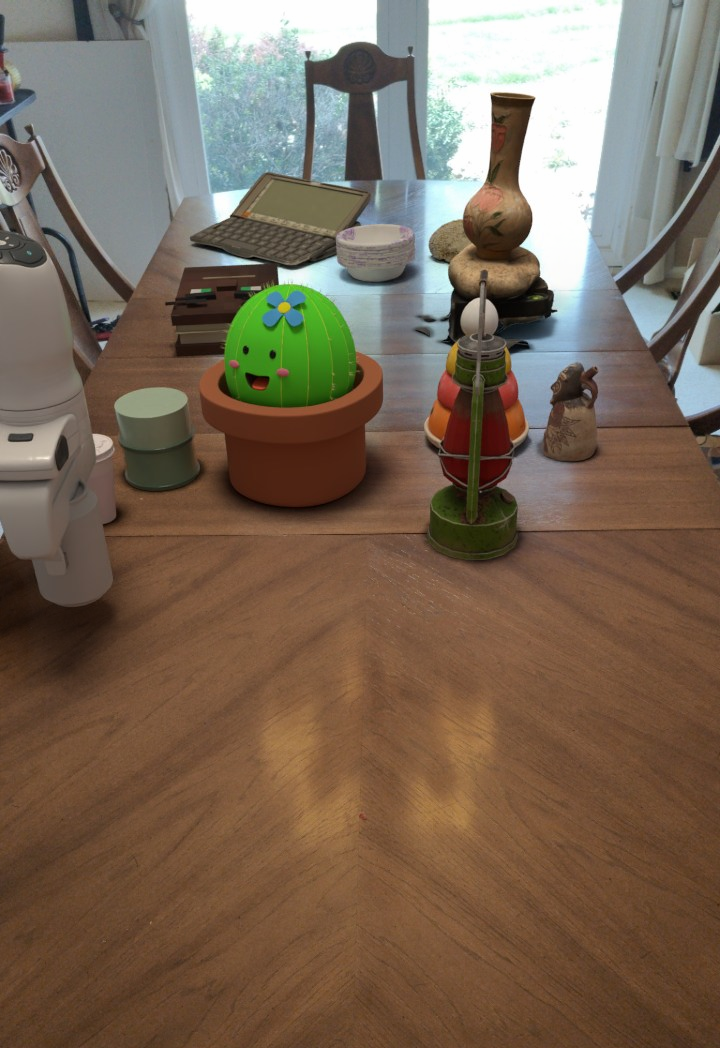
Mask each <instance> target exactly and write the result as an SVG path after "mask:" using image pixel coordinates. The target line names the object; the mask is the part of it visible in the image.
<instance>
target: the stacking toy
mask: <svg viewBox="0 0 720 1048" xmlns="http://www.w3.org/2000/svg"><path fill="white" fill-rule="evenodd" d="M479 306H480V298H476V299H474V300H472V301H471V302H469V304H468V305H467V306H466V307H465V309H464V310H463V313H462V316H461V328H462V330H463V332H464V333H465V335H466V336H468V335H472V334H476V333H478V326H479ZM498 327H499V324H498V314H497V311H496V308H495V307H494V305H493V304H492V303H491V302H490V301H489V300H487V299H486V309H485V330H484V332H485V333H488V334H491V335H492V334H493V335H494V334H495V333H496V332H497V329H498ZM457 342H458V341H457ZM457 342H454V344H453V345H452V346H451V348H450V350H449V351H448V353H447V356H446V361H445V369H444V371H443V373H442V375H441V376H440V379H439V382H438V384H437V389H436V399H435V401H434V402H433V404H432V407H431V409H430V412H429V413H430V414H429V415H428V417H427V418H426V419H425V421H424V424H423V430H424V434H425V436H426V438H427V439H428V441H429V442H430V443H431V444H432V445H433V446H435V447H436V448H438V449H440V446H439V443H440V442H441V441H442V439H443V438H444V436H445V432H446V428H447V423H448V420H449V417H450V414H451V411H452V408H453V405H454V402H455V399H456V397H457V395H458V392H459V390H460V388H461V387H459V386H458V385H456V384H455V383H453V380H452V375H453V374H454V372H455V361H456V359H457V350H458V347H457ZM504 350H505V352H506V357H505V361H506V372H505V373H506V374H507V376H508V381H507V383H506V384H505V385H503V386H501V387H499V388H498V389H499V392H500V395H501V398H502V401H503V405H504V409H505V414H506V418H507V422H508V429H509V436H510V439H511V440H512V442H513V444H514V446H515V448H517V447H519V446H520V445H521V444H522V443H523V442H525V440H526V439H527V436H528V435H529V432H530V424H529V422H528V420H527V418H526V417H525V411H524V408H523V405H522V402H521V401H520V399H519V384H518V380H517V377H516V376H515V373H514V372H513V370H512V358H511V353H510V351H509V349H507V347H505V349H504ZM442 446H443V445H442Z"/></svg>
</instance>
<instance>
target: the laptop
mask: <svg viewBox="0 0 720 1048" xmlns="http://www.w3.org/2000/svg"><path fill="white" fill-rule="evenodd" d="M371 200H372V194H371V191H370V190H366V189H359V188H355V187H349V186H343V185H338V184H334V183H333V184H332V183H327V182H321V181H315V180H310V179H306V178H305V179H304V178H300V177H296V176H290V175H286V174H281V173H276V172H271V171H265V172H264V173H262V174H261V175H260V176H259V177H258V178H257V180H256V181H255V182H254V183H253V184H252V185H251V187H250V188H249V190H248V191H247V192H246V193H245V194H244V195H243V197H242V198H241V199H240V201H239V203H238V204H237V206H236V208H234V210H233V211H232V213H230V215H229V217H228V218H226V219H224V220H222V221H219V222H216V223H213V224H212V225H210V226H207V227H205V228H203V229H202V230H200V231H198V232H196V233H194V234H193V235H191V236H189V240H190V242H193V243H197V244H200V245H207V246H211V247H216V248H219V249H223V250H224V251H226V252H227V253H229V254H231V255H235V256H237V257H242V258H245V259H246V258H247V259H249V258H252V257H255V258H259V259H263V260H266V261H272V262H274V263H278V264H283V265H285V266H296V265H299V264H301V263H305V262H306V261H309V262H310V261H311V262H316V261H319V260H323V259H325V258H328V257H331V256H335V255H337V252H336V251H337V250H336V236H337V234H339V233H340V232H341V231H344V230H346V229H349V228H352V227H357V226H362V223H361V221H358V219H359V218H360V217H361V215H362V214H363V212H364V211H365V209H367V206H368V205H369V203H370V202H371Z"/></svg>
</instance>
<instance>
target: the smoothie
mask: <svg viewBox="0 0 720 1048" xmlns="http://www.w3.org/2000/svg"><path fill="white" fill-rule="evenodd" d="M92 435H93V439H94V444H95V449H96V462H95V465H94V467H93V469H92V471H91V474H90V476H89V478H88V481H87V484H88V487H89V489H90V490H91V491H92V492H94V493H95V494H96V496H97V499H98V504H99V509H100V514H101V519H102V524H103V525H105V524H108V523H111V522H112V521H114V520H115V519H116V518H117V503H116V490H115V489H116V488H115V474H114V473H115V472H114V459H113V455H114V453H115V451H116V450H115V449H116V448H115V446H114V441H113V439H112V438H111V437H109V436H108V435H104V434H101V433H92Z"/></svg>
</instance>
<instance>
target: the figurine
mask: <svg viewBox="0 0 720 1048" xmlns="http://www.w3.org/2000/svg"><path fill="white" fill-rule="evenodd" d="M598 373H599V368H598V367H597V366H596V365H593V366H591V367H590V368H588V369H587V370H586V371H585V367H584V364H582V363H581V362H578V361H576V362H573V363H570V364H569V365H568V366H566V367H565V368H563V369H562V370H561V371H560V372H559V374H558V375H557V379H556V380H555V381H554V382H553V383H552V384H551V386H550V390H551V391H552V396H551V399H550V401H549V404H550V405H551V406H552V408H551V409H550V412H549V415H548V420H547V424H546V427H545V430H544V432H543V437H542V444H541V449H542V452H543V453H542V454H543V455H544V456H545V457H547V458H549V459H552V460H555V461H559V462H578V461H579V462H580V461H584V460H587V459H590V458H591V457H592V456H593V455H594V453H595V451H596V448H597V443H598V424H597V417H596V416H597V415H596V414H597V413H596V408H595V403H596V400H597V399H598V394H599V386H598V384H597V382H596V381H595V379H594V377H595V376H596V375H597V374H598ZM585 390H588V391H589V392H590V395H591V396H590V395H589V394H588V393H586V392H585Z"/></svg>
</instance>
